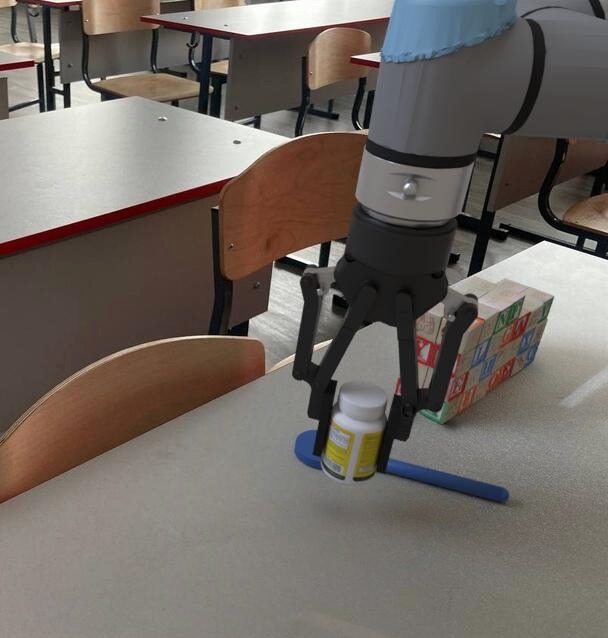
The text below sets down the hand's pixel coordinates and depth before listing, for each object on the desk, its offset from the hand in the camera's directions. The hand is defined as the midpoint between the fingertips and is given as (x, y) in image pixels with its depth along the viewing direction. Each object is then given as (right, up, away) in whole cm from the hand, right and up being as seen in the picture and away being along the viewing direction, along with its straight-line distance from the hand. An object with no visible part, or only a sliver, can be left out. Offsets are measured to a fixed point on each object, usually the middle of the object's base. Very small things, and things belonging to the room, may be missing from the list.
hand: (350, 454), depth 67 cm
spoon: (+7, -3, +8) cm, 11 cm away
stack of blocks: (+21, +5, +23) cm, 31 cm away
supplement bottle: (0, -2, +1) cm, 2 cm away
